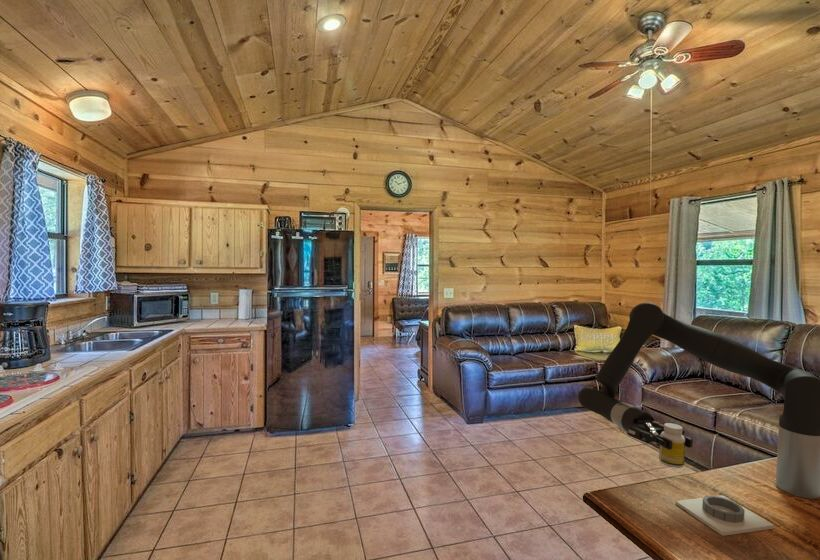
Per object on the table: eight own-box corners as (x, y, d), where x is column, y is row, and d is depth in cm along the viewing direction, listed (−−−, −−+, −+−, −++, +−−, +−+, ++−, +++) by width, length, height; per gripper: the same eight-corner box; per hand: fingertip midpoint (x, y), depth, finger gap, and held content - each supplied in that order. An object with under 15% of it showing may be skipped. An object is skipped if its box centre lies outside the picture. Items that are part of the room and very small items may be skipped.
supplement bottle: (687, 469, 104) (689, 431, 103) (663, 467, 105) (665, 429, 104) (678, 459, 109) (680, 422, 108) (655, 457, 110) (657, 420, 109)
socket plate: (722, 498, 112) (723, 487, 112) (774, 528, 99) (774, 516, 99) (675, 503, 109) (676, 493, 109) (722, 535, 96) (723, 524, 96)
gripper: (610, 408, 119) (657, 432, 102) (653, 405, 122) (706, 427, 105) (609, 434, 119) (656, 462, 103) (652, 430, 122) (704, 457, 106)
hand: (681, 444), depth 104 cm, fingers closed on supplement bottle, 5 cm apart
